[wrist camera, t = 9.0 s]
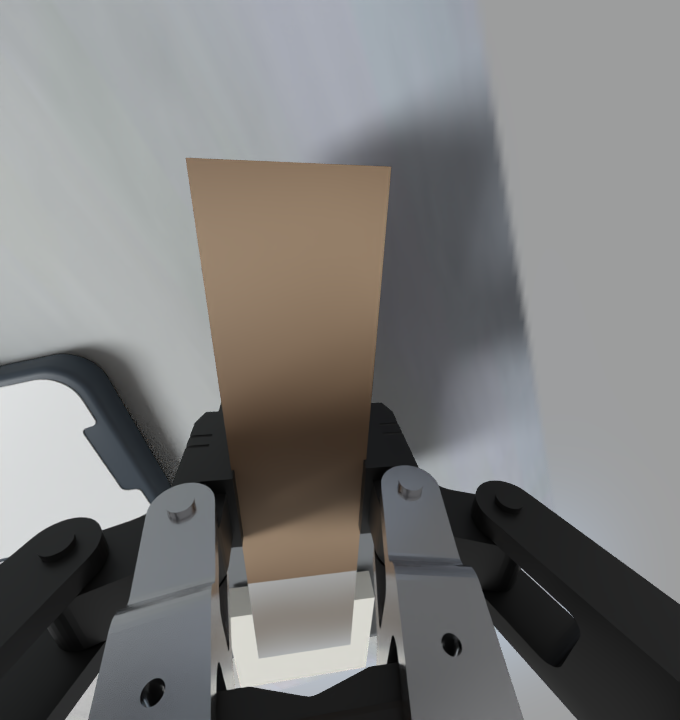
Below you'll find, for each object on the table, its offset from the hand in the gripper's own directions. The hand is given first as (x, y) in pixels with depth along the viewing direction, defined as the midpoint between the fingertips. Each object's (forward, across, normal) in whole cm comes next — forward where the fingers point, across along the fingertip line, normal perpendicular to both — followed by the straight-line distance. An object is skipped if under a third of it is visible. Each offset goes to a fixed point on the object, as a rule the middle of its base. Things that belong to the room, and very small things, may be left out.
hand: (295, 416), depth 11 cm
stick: (+1, 0, 0) cm, 1 cm away
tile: (+2, 0, +14) cm, 14 cm away
